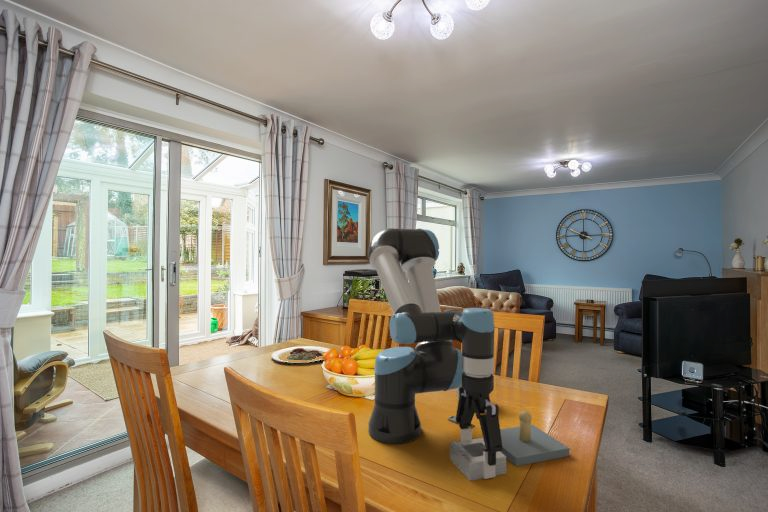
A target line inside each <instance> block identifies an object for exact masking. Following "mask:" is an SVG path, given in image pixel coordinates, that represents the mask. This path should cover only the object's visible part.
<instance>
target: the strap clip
mask: <svg viewBox="0 0 768 512" xmlns="http://www.w3.org/2000/svg"><path fill="white" fill-rule="evenodd" d="M460 417H462V416H460ZM447 421H449V422H451V423H453V424H458V425H459V422H456V415H452V416H449V417H447ZM471 424H472V423H471ZM475 427H476V425H474V424H472V425H471V426H470V428H471V429H474V428H475Z"/></svg>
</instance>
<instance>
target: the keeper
mask: <svg viewBox="0 0 768 512" xmlns="http://www.w3.org/2000/svg"><path fill="white" fill-rule="evenodd" d="M518 419H519V426H515V427H508V428H502V429H501V428H500V432H501V439H502V447H503V451H500V452H501V453H503V454H504V455H505V456H506V460H508V461H509V462H510V463H511V464H513V465H514V466H515V467H519V466H526V465H530V464H535V463H539V462H540V463H541V462H545V461H551V460H556V459H560V458H565V457H569V456H570V447H569V446H567V445H565V444H564V443H562V442H561V441H559V440H557V439H556V438H555V437H553V436H551V435H549V434H548V433H546V432H545V431H543V430H542V429H540V428H539V427H537V426H535V424H532V414H531V413H530V412H529V411H526V410H522V411H520V412H519V414H518Z"/></svg>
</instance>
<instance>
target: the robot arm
mask: <svg viewBox="0 0 768 512" xmlns="http://www.w3.org/2000/svg"><path fill="white" fill-rule="evenodd" d="M439 249H440V244H439V239H438V238H437V236H436V234H435V233H434V232H433V231H432V230H430V229H424V228H394V227H393V228H385V229H382V230H380V231H379V232H378V233H376V234H375V235H374V236H373V238H371V240H370V242H369V246H368V248H367V257H368V261H369V264H370V266H371V268H373V269H375V270H376V273H377V276H378V278H379V281H380V283H381V286H382V288H383V289H382V290H383V291H384V294H385V297H386V300H387V302H388V304H389V307H390V309H391V311H392V315H391V316H390V319H389V324H388V325H389V327H388V329H389V333H390V334H389V335H390V338H391V340H392V341H393V342H394V343H395V344H408V345H411V344H416V343H417V344H416V346H415V347H414V348H415V349H414V348H413V347H410V346H395V347H390V348H386V349H383V350H381V351H380V352H378V353H377V355H376V356H375V361H374V367H373V369H374V370H373V373H374V406H373V408H372V411H371V415H370V417H369V421H368V434H369V436H371V437H372V438H373V439H374V440H377V441H379V442H381V443H386V444H405V443H409V442H412V441H414V440H416V439H418V438H419V437H420V436H421V433H422V423H421V419H420V416H419V413H418V410H417V407H416V394H425V393H426V394H427V393H434V392H441V391H442V392H447V391H450V390H455V389H456V390H457V388H458V387H459V386H460V385H461V384H462V387H459V399H458V400H457V401H458V403H457V406H456V407H457V409H456V415H455V416H456V422H459V423H458V426H459V428H460V441H466V440H472V439H473V435H472V433H473V432H472V431H473V430H472V429H473V428H472V429H471V427H472V422H473V419H474V416H475V417H476V419H477V420H478V421H479V426H480V429H481V434H482V438H483V439H484V443H485V447H486V449H483V477H484V478H483V479H485V480H487V479H491V478H496V476H495V465H496V452H499V451H503V447H502V439H501V432H500V430H501V425H500V420H499V419H500V418H499V409H500V408H499V405H498V404H497V403H495V404H493V403H492V402H491V399H490V397H491V396H490V394H491V393H492V392H493V391H494V389H495V388H494V387H495V379H494V378H495V376H494V367H495V365H494V361H495V359H494V358H495V357H494V355H495V353H494V352H495V329H496V326H495V317H494V312H493V311H492V310H491V309H489V308H482V307H467V308H464V309H463V310H462V311H461V310H459V309H451V308H450V309H445V310H443V311H442V309H441V305H440V301H439V295H438V294H439V293H438V290H437V285H436V280H435V275H434V271H433V270H434V269H433V268H434V267H435V265H436V261H437V260H438V259H439V256H440V251H439ZM405 273H406V274H407V277H406V274H405ZM453 341H456V342H459V343H461V350H460V349H458V348H455V347H454V343H453ZM460 416H462V417H460Z"/></svg>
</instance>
